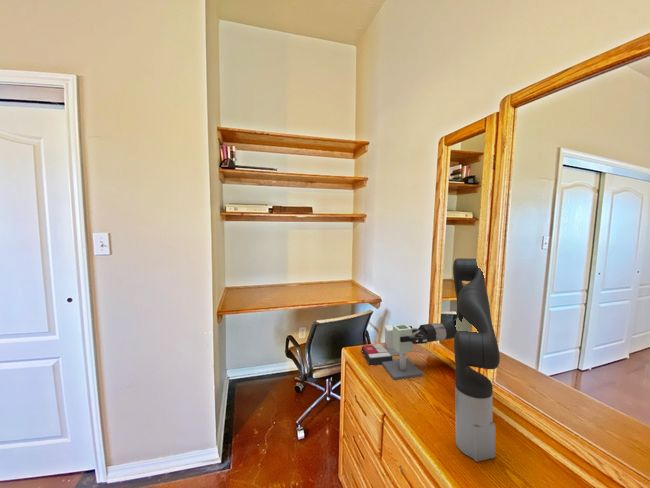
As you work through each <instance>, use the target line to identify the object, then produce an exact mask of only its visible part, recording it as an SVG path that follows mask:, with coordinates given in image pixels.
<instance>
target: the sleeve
mask: <svg viewBox="0 0 650 488" xmlns="http://www.w3.org/2000/svg"><path fill="white" fill-rule="evenodd" d="M392 325H393V347H394V348H395V350H396V351H397V352H398V353H412V352H413V342H400V337H404V336H410V335H412V329H411V328H410V327H409V326H410V325H407V324H406V323H403V324H392Z"/></svg>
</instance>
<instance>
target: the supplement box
mask: <svg viewBox="0 0 650 488" xmlns="http://www.w3.org/2000/svg"><path fill="white" fill-rule="evenodd" d="M393 325H394V324H392V325H391V324H389V325H387V324H386V325H384V348H385V349H386V350H387V351H388V352H389V353H390V354H391V355H392V356H400V353H398V352H397V351H396V350H395V348H394V347H393Z"/></svg>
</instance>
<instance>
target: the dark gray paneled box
mask: <svg viewBox="0 0 650 488" xmlns="http://www.w3.org/2000/svg"><path fill="white" fill-rule="evenodd" d="M362 351H363V353H364V355H365V356H364V355H363V356H364V358H365V357H366V358H365V359H366V361H367V363H368V362H369V363H368V365H369V364H370V365H374V366H383V365H382V362H387V361H393V359H394V358H393V355H391V354H390V353H389V352H388V351H387V350H386V349H385V345H384V346H383V344H381V343H376V344H366V345H364V344H363V345H362V346H361V352H362ZM363 353H362V354H363ZM370 365H369V366H370Z"/></svg>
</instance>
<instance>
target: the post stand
mask: <svg viewBox="0 0 650 488" xmlns="http://www.w3.org/2000/svg"><path fill="white" fill-rule="evenodd" d="M406 353H407V352H406ZM406 353H400V355H399V358H395V359H394V358H392V359H393V361H387V362H382V365H381V366H382V367H383V368H384V369H385V371H386V372H387V373H388V375H390V377H391V378H392V379H393V380H394V381H396V380H397V381H398V380H403V379H409V378H410V379H411V378H417V377H418V378H419V377H423V374H424V373H423V371H421V370H420V369H419V368H418V367H417V366H416V365H415V364H414V363H413V362H412V361H411V360H410V359H409V358H408V357H407V354H406Z"/></svg>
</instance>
